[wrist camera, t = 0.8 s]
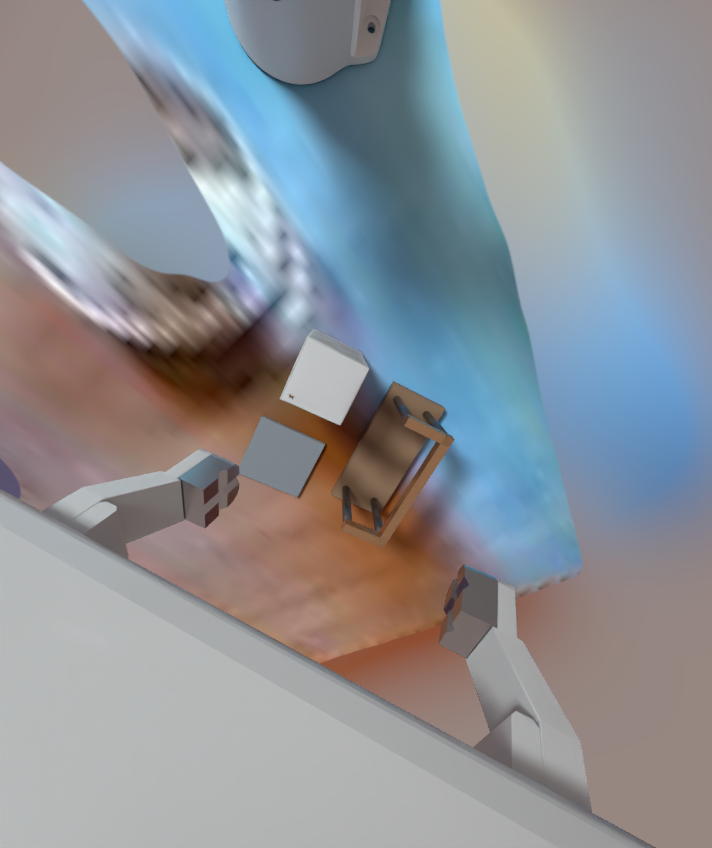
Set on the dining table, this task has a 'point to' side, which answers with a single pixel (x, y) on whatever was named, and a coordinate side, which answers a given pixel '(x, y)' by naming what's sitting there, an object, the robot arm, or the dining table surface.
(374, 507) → the wooden post stand
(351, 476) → the brown board
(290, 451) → the mat
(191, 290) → the dining table surface
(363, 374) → the supplement box
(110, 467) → the dining table surface
